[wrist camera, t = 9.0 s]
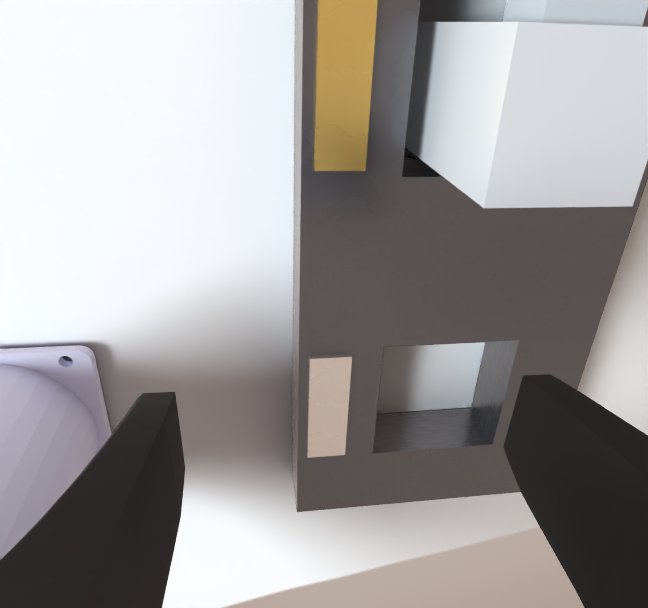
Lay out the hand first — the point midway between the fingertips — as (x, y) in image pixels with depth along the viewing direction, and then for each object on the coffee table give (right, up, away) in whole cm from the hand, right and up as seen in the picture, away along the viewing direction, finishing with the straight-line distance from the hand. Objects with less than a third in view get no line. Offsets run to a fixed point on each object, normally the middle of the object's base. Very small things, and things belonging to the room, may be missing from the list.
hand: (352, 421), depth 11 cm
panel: (+4, +5, +10) cm, 12 cm away
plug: (+4, +10, +7) cm, 13 cm away
